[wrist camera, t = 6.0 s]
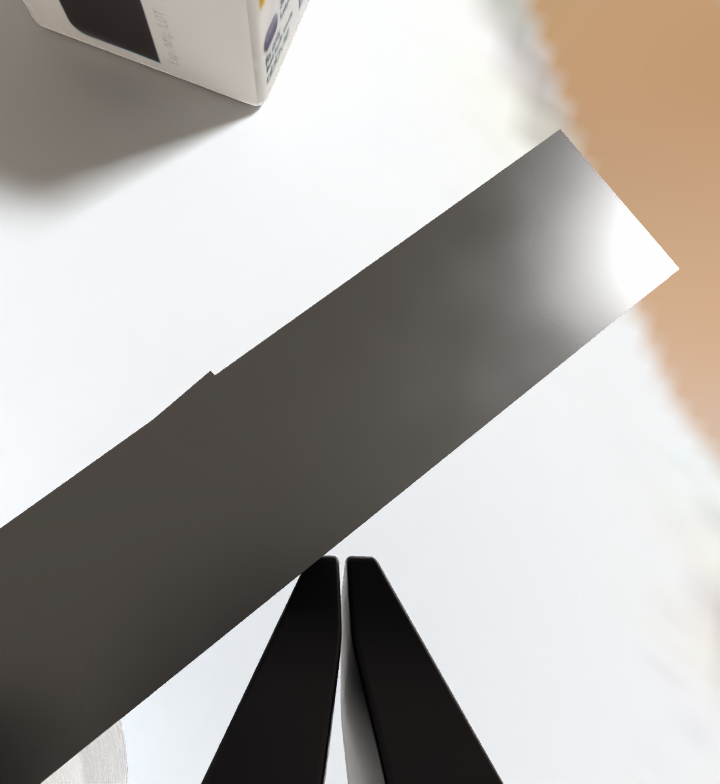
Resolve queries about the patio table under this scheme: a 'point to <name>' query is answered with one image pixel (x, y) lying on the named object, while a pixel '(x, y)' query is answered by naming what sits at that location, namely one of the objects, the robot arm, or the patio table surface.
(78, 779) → the cooker pot
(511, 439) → the patio table surface
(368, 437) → the cooker lid
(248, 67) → the container
